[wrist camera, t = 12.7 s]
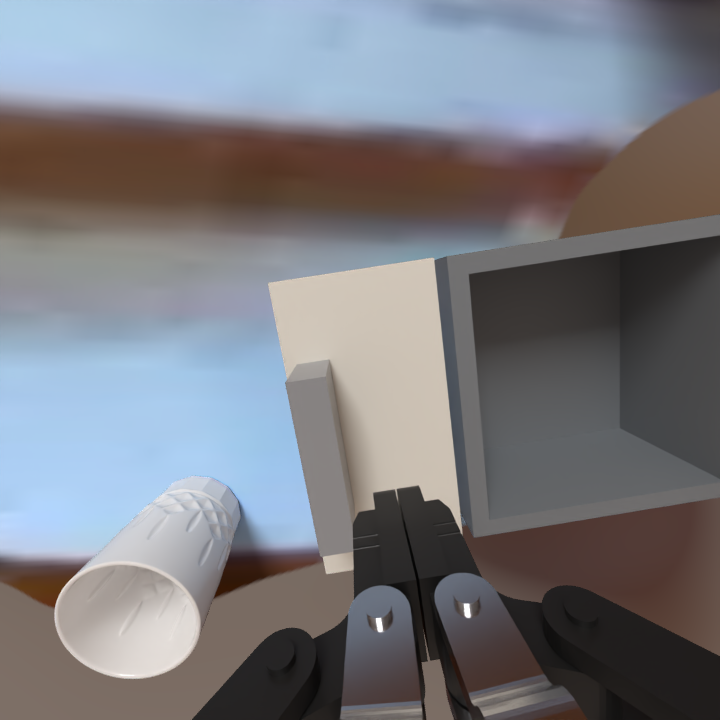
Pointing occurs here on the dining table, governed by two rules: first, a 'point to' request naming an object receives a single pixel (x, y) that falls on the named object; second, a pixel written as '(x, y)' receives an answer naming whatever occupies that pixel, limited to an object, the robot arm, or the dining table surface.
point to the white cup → (151, 583)
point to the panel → (366, 392)
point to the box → (584, 374)
